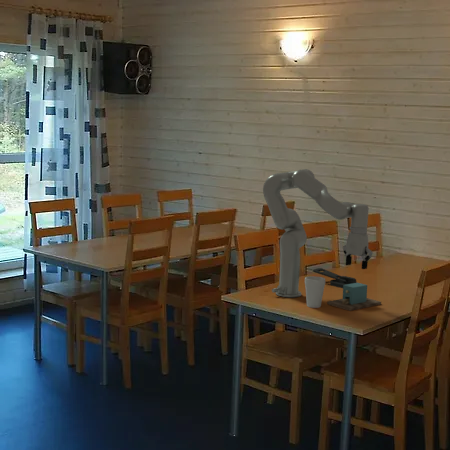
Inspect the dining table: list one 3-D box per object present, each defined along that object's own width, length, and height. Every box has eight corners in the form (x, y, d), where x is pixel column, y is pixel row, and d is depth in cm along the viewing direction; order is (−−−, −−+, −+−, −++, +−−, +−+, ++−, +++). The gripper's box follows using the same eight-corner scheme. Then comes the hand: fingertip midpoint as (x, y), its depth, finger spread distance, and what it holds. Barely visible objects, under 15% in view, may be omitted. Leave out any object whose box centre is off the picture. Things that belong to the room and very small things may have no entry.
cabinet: (350, 304, 329) (351, 287, 328) (341, 301, 334) (342, 285, 333) (366, 301, 336) (367, 285, 335) (356, 298, 341) (357, 282, 340)
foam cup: (327, 306, 330) (329, 278, 328) (316, 309, 323) (317, 281, 321) (310, 302, 336) (312, 275, 334) (299, 305, 329) (300, 278, 328)
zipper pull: (320, 267, 386) (361, 275, 369) (319, 279, 387) (360, 287, 370) (311, 269, 379) (351, 277, 363) (310, 281, 380) (351, 290, 364)
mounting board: (349, 310, 323) (350, 304, 323) (327, 304, 334) (327, 297, 334) (381, 304, 337) (381, 297, 336) (358, 298, 348) (358, 291, 347)
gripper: (339, 228, 335) (336, 264, 337) (368, 234, 321) (365, 271, 324) (350, 227, 339) (347, 262, 342) (378, 233, 326) (376, 269, 329)
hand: (356, 266), depth 333 cm, fingers open, 9 cm apart
